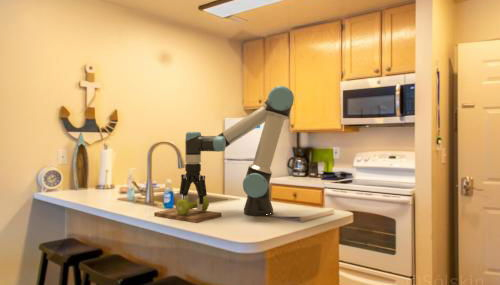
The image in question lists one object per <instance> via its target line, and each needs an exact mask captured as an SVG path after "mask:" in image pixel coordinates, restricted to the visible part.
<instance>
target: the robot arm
mask: <svg viewBox="0 0 500 285" xmlns="http://www.w3.org/2000/svg"><path fill="white" fill-rule="evenodd" d="M294 100H295V96H294V93H293V91H292V90H291V89H290V88H289V87H287V86H285V85H278V86H275V87H273V88H272V89H271V90H270V91H269V93H268V96H267V100H266V101H264V102H263V104H262V105H261V107H259V108H257V109H256V110H254V111H252V112H251V113H250V114H248V115H246V116H245V117H244V118H242V119H240V120H239V121H237V122H236V123H235V124H233V125H232V126H230V127H228V128H226V129H225V130H224V131H222V132H221V133H219V134H218V135H202V133H201V131H187V132H186V134H185V141H184V143H185V154H184V155H185V159H184V163H185V165H184V166H185V170H184V171H185V172H186V173H184V174H180V179H181V180H180V181H181V182H180V186H179V187H180V188H179V195H182V199H185V200H187V201H188V203H190V201H189V200H190V199H189V198H190V197H189V191H190V189H191V186H192V184H194V186H195V189H196V192H197V195H198V196H197V198H196V200H197V208H196V209H197V211H202V204H203V197H207V195H208V194H207V186H206V185H207V184H206V175H201V171H202V165H201V163H202V162H201V161H202V159H201V158H202V155H201V154H202V152H217V153H219V152H225V150H226V148H227V147H229V146H231V145H232V144H233V143H235V142H236V141H238V140H239V139H241V138H242V137H244V136H246V135H247V134H249V133H250V132H252V131H253V130H255V129H257V128H258V127H259V126H260V125H263V128H262V132H261V134H260V138H259V142H258V145H257V148H256V151H255V155H254V158H253V162H252V163H251V164H249V165H248V168H247V171H246V173H245V174H246V175H245V177H244V179H243V180H242V189H243V192H244V193H245V194H246V196H247V199H246V201H245V205H244V207H243V213H244V215H247V216H254V217H262V216H263V217H264V216H265V215H266V214H270V213H272V212H273V213H274V207H273V205H272V201H271V196H270V194H271V192H270V191H271V190H270V189H271V177H272V176H273V175H272V174H273V172H272V169H271V167H272V163H273V160H274V156H275V153H276V150H277V147H278V143H279V140H280V137H281V132H282V128H283V126H284V122H285V120H288V119H289V116H290V114H291V110H292V107H293V105H294ZM266 216H267V215H266Z"/></svg>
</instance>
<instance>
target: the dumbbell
mask: <svg viewBox="0 0 500 285" xmlns="http://www.w3.org/2000/svg"><path fill="white" fill-rule="evenodd" d="M209 206H210V203H209V200H208V197H207V196H204V197H203V204H202V211H208V209H209ZM175 208H176V209H177V212H178V214H181V215H186V214H187V213H188V212H189V209H197V199H196V200H195V201H192V202H191V201H189V203H188V201H187V200H185V199H183V198H179V199H178V200H177V201H176V204H175Z"/></svg>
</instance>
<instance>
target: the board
mask: <svg viewBox="0 0 500 285" xmlns="http://www.w3.org/2000/svg"><path fill="white" fill-rule="evenodd" d="M153 215H154V217H156V218H157V217H158V218H162V219H163V218H165V219H171V220H176V221H182V222H187V223H195V224H197V223H198V224H199V223H201V222H206V221H209V220H212V219H217V218H220V217H222V212H219V211H210V210H206V211H197V208H193V209H189V212H188V213H187V214H186V215H181V214H178V212H177V209H176V207H174V208H171V209H165V210H160V211H155V212H154V214H153Z"/></svg>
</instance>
